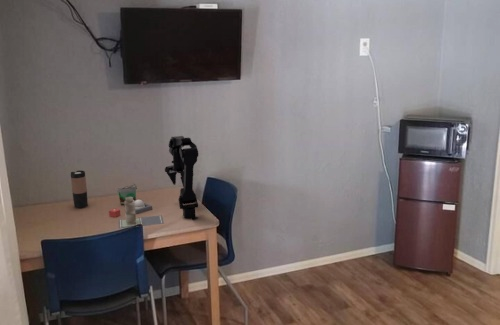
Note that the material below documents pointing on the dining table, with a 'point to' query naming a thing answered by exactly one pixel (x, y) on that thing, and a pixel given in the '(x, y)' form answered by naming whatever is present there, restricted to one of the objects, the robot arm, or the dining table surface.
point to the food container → (127, 193)
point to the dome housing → (143, 209)
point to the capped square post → (130, 210)
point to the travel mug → (79, 189)
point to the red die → (114, 213)
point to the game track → (142, 221)
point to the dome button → (139, 204)
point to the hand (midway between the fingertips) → (179, 186)
